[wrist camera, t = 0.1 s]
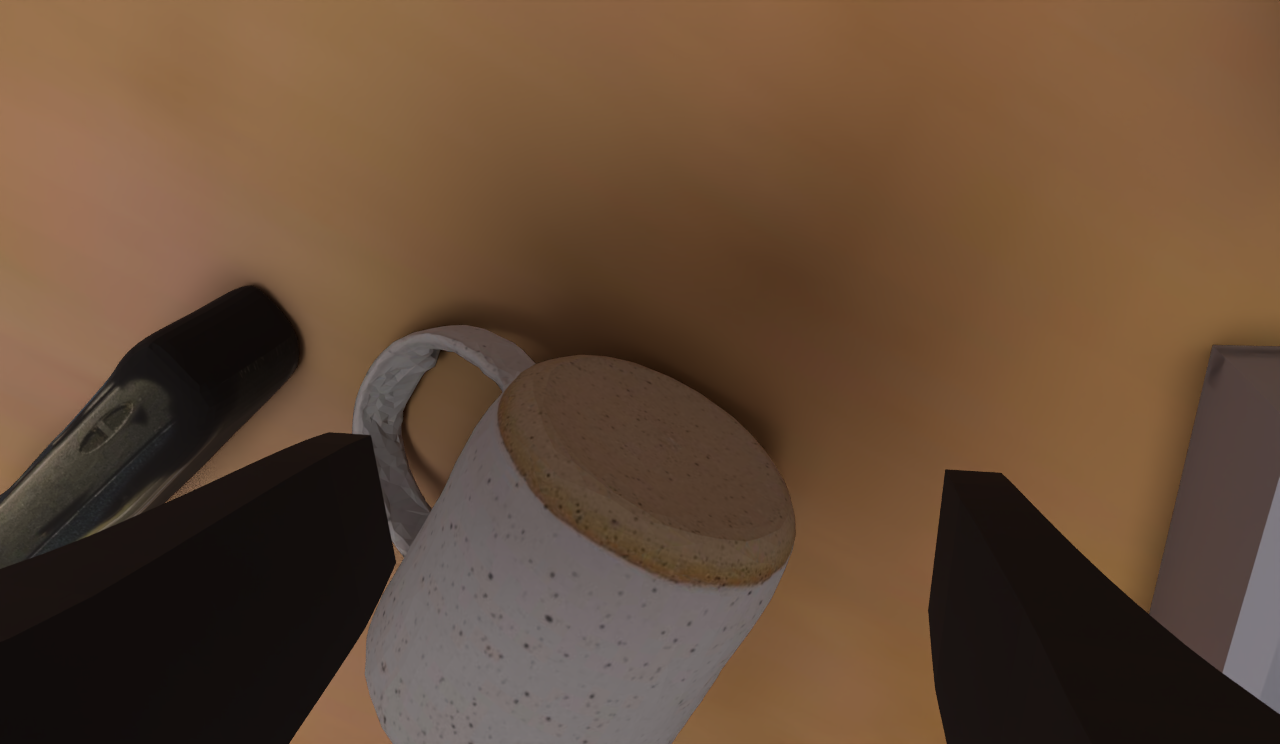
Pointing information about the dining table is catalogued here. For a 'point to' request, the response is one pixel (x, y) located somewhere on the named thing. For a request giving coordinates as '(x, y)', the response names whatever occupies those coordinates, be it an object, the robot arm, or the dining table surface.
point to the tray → (1230, 525)
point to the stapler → (151, 424)
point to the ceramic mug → (566, 551)
